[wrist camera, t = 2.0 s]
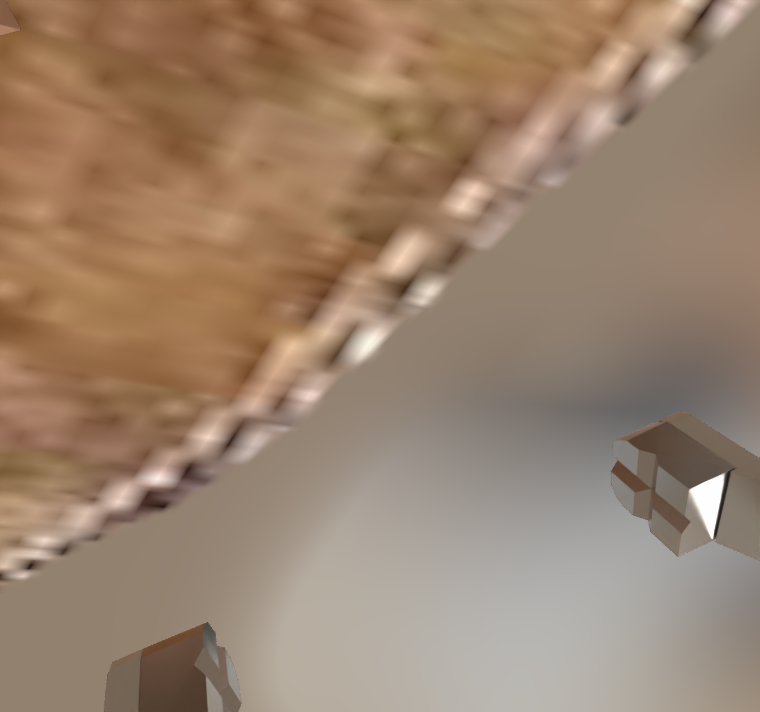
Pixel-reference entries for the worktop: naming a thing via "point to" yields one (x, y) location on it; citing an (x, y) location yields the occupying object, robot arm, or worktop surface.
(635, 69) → the worktop surface
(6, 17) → the tan upright block
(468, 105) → the worktop surface
